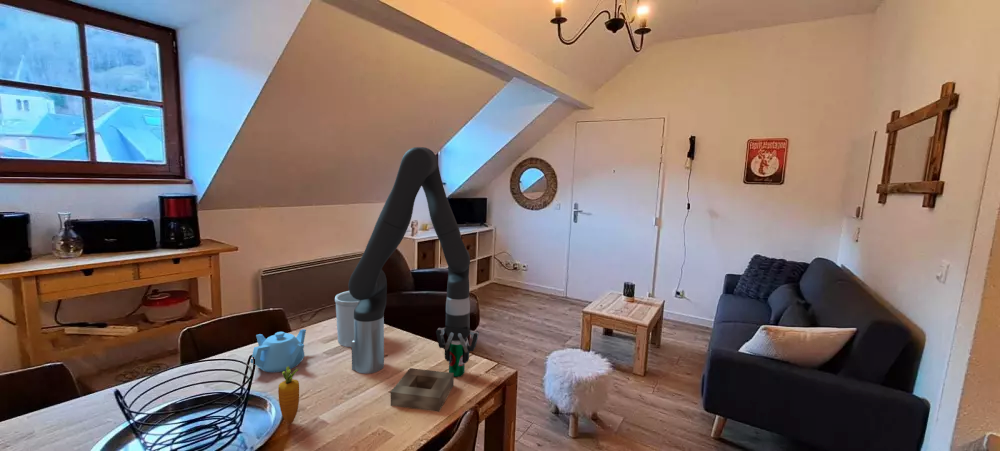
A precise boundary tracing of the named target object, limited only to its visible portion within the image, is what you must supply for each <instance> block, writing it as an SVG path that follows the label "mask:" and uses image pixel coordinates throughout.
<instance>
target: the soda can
mask: <svg viewBox="0 0 1000 451" xmlns="http://www.w3.org/2000/svg"><path fill="white" fill-rule="evenodd" d="M465 364H466V363H464V348H463V346H462V344H461V342H460V340H451V343H450V345H449V361H448V372H449V373H454V378H461V377H462V376H464V374H465V371H466V370H465V367H466V365H465Z"/></svg>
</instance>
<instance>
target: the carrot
mask: <svg viewBox="0 0 1000 451" xmlns="http://www.w3.org/2000/svg"><path fill="white" fill-rule="evenodd" d="M291 372H292V369H290V367H289V366H288V367H286V371H282V372H281V373H282V376H283V378H284V381H282V382H280V383H279V384H278V389H277V390H278V391H277V394H278V403H279V408H280V412H281V415H282V418H283V419H284V421H285V422H286V424H288V425H292V424H293V423H294V421H295V419H296V416H297V414H298V409H299V405H300V404H299V403H300V383H299V382H300V381H299V380H297V379H294V375H295V374H296V373H297V372H299V369H298V368H296V369H294V370H293V372H292V373H291Z"/></svg>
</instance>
